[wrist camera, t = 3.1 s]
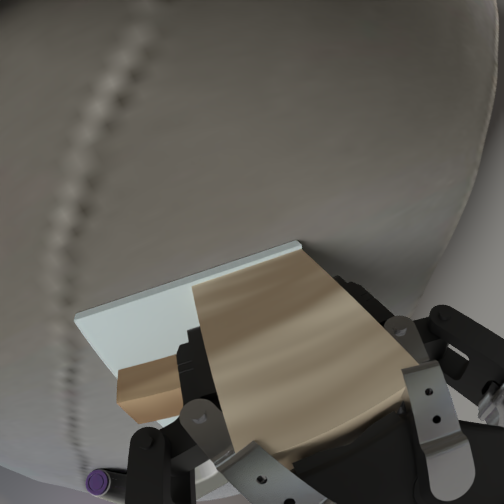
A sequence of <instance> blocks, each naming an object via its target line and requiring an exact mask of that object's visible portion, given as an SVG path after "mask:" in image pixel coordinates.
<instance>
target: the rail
mask: <svg viewBox="0 0 504 504" xmlns="http://www.w3.org/2000/svg"><path fill="white" fill-rule="evenodd" d="M117 404H118V405H119V406H120V407H121V408H122V409H123V410H124V411H125V412H126V413H127V414H128V415H130V416H131V417H132V418H133V419H134V420H135V421H136V422H137V423H138V424H142V423H147V422H152V421H157V420H161V419H166V418H170V417H175V416H179V415H180V411H181V409H182V408H183V399H182V393H181V387H180V380H179V373H178V365H177V359H176V354H174V355H171V356H168V357H164V358H161V359H157V360H154V361H150V362H146V363H143V364H139V365H135V366H131V367H128V368H124V369H120V370H118V381H117Z"/></svg>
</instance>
